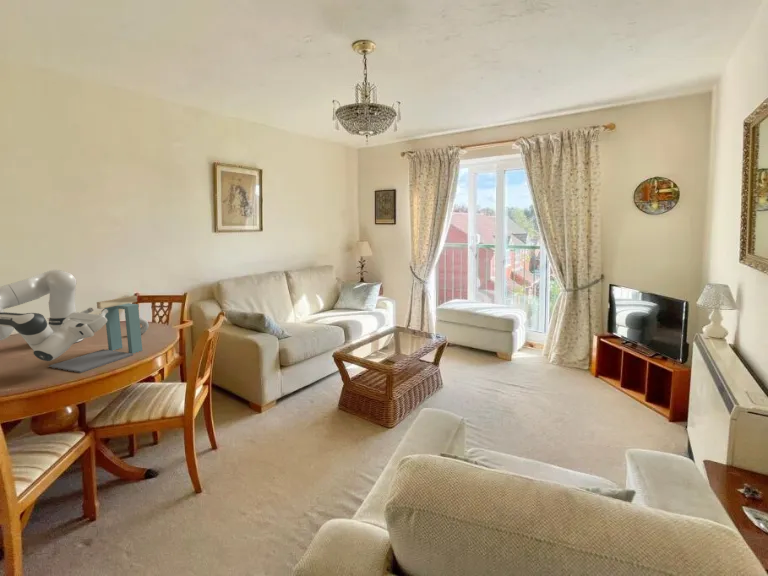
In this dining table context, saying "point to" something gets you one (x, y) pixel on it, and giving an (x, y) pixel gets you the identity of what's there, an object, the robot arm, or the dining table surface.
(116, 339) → the teal arch
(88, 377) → the dining table surface
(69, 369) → the mat
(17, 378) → the dining table surface
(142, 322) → the donut
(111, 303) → the stick
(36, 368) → the dining table surface
